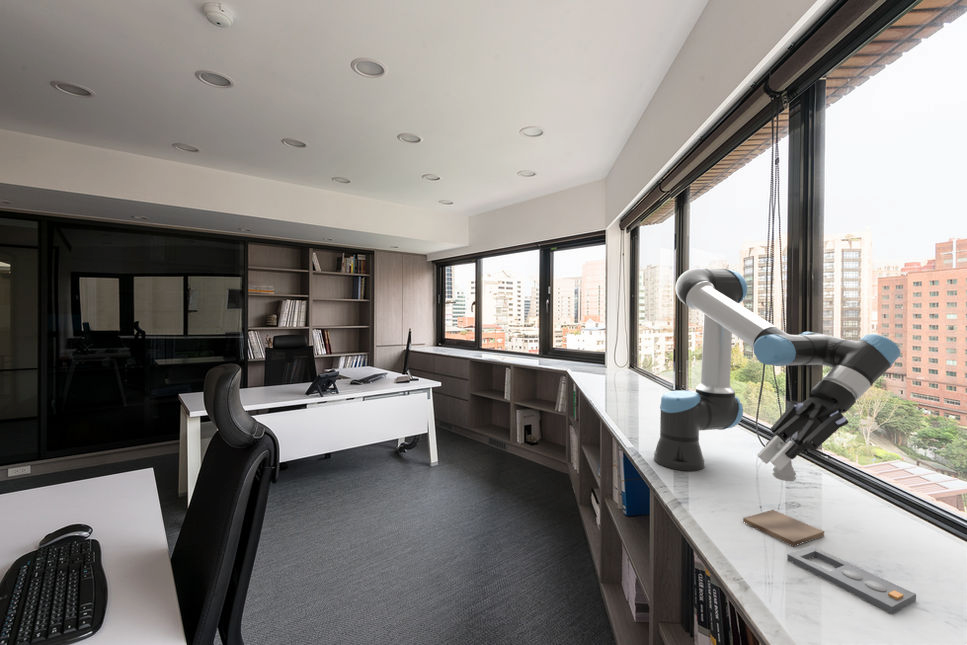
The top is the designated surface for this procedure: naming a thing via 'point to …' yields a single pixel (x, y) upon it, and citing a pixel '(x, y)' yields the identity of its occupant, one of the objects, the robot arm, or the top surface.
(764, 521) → the walnut pad
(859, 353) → the robot arm
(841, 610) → the top surface
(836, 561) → the gray slotted board
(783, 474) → the rook chess piece
